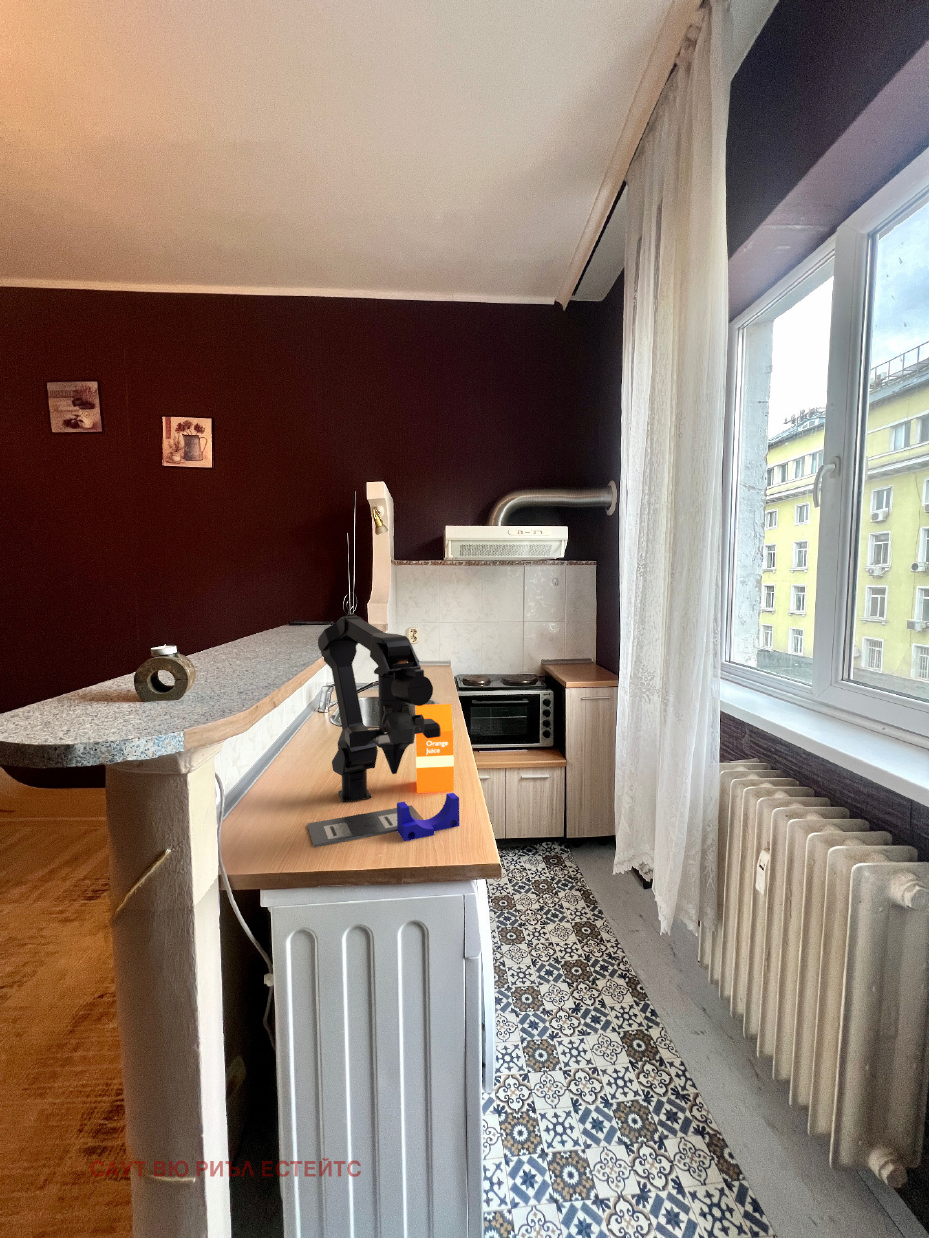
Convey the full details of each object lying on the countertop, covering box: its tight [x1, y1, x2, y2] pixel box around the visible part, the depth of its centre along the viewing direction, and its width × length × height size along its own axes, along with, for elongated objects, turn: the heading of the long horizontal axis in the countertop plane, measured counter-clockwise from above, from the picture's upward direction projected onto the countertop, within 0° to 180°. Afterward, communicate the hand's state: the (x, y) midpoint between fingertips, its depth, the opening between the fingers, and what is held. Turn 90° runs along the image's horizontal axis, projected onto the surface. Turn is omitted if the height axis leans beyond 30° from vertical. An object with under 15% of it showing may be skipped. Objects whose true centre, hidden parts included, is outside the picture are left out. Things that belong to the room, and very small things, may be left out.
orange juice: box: [415, 703, 455, 794], centre depth 128 cm, size 8×9×20 cm
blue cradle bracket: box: [396, 792, 460, 842], centre depth 104 cm, size 12×4×6 cm, turn 115°
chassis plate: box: [306, 805, 425, 848], centre depth 107 cm, size 10×22×1 cm, turn 113°
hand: (394, 773), depth 109 cm, fingers closed
